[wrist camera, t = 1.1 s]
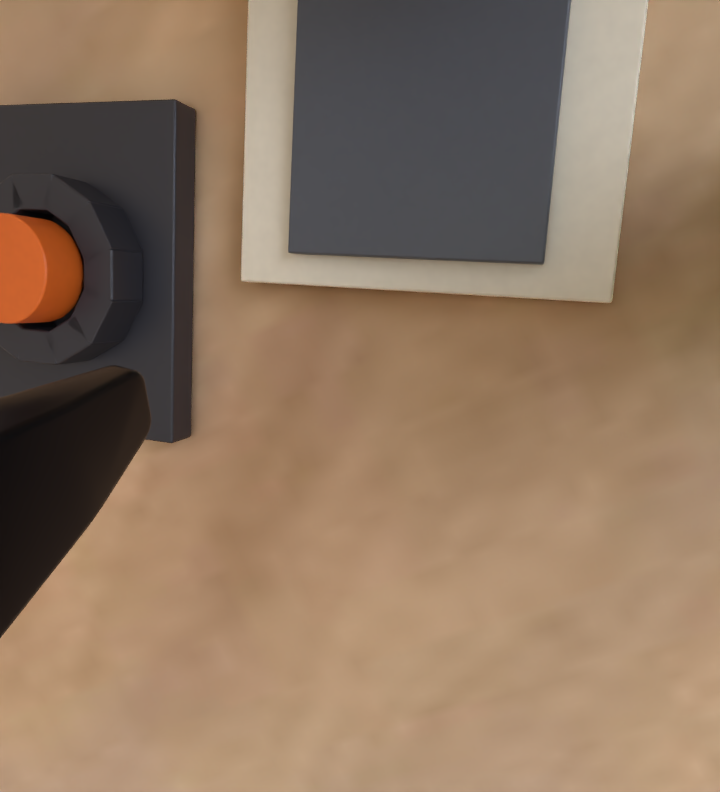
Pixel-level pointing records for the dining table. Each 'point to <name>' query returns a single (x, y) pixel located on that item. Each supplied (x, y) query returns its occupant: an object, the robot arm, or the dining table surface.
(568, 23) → the coffee machine
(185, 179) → the button pad
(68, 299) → the button
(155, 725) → the dining table surface
